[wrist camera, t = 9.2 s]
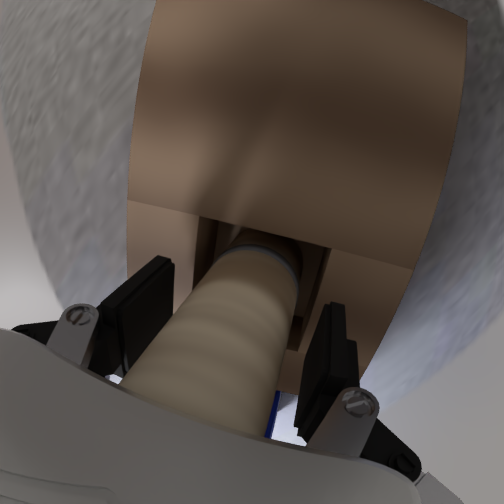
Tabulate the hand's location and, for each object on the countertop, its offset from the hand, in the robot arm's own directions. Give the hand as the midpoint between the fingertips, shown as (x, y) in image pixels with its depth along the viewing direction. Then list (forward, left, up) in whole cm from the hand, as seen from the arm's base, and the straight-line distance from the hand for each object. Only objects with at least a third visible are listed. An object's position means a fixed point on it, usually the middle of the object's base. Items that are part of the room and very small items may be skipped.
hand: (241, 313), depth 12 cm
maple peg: (0, 0, -5) cm, 5 cm away
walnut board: (-4, 0, -6) cm, 7 cm away
